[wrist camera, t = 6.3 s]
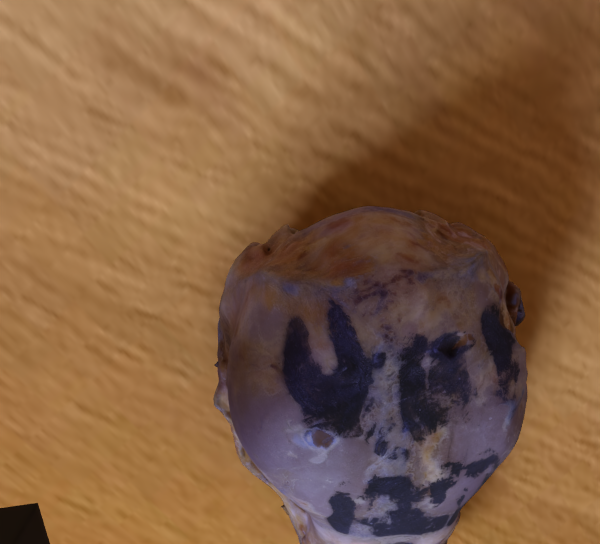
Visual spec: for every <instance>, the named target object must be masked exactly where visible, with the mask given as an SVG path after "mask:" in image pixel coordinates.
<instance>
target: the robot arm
mask: <svg viewBox="0 0 600 544" xmlns="http://www.w3.org/2000/svg"><path fill="white" fill-rule="evenodd" d="M0 544H50V543H49V539H48V536H47V533H46V529H45V526H44V522H43V519H42V516H41V512H40V509H39V506H38V503H34V504H27V505H20V506H13V507H6V508H0Z"/></svg>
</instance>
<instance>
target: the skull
mask: <svg viewBox="0 0 600 544" xmlns="http://www.w3.org/2000/svg"><path fill="white" fill-rule="evenodd" d="M508 280H509V276H508V271H507V268H506V266H505V264H504V262H503V260H502V258H501V257H500V255H499V254H498V252H497V250H496V249H495V246H494V245H493V244H492V243H491V242H490V241H489V240H488V239H486V238H485V237H484V236H483V235H481V234H478V233H477V232H476V231H474V230H472V229H471V228H470V227H468V226H466V225H464V224H462V223H459V222H457V223H452V224H449V223H448V222H447V221H446V220H444V219H443V218H441V217H439V216H438V215H436V214H433V213H431V212H428V211H424V210H418V211H416V212H415V213H412V212H410V211H405V210H399V209H395V208H387V207H376V206H364V207H359V208H355V209H352V210H348V211H345V212H342V213H338V214H335V215H332V216H330V217H327V218H325V219H323V220H321V221H319V222H317V223H315V224H314V225H312V226H310V227H308V228H306V229H303V230H301V231H299V230H296V229H294V228H290V227H289V225H288V224H287V225H284V226H283V227H281V228H280V229H279V230H278V231H277V232H276V233H275V234H273V235H272V236H271V238H270V239H269V240H268V242H267V243H265V244H259V243H256V242H253V243H251V244H250V245H249V246H248V247H247V248H246V249H245V250H244V251H243V252H242V253H241V254H240V255H239V256H238V257H237V258H236V259H235V261H234V263H233V264H232V266H231V268H230V270H229V273H228V275H227V279H226V283H225V288H224V292H223V294H222V297H221V301H220V307H219V316H220V318H219V322H218V353H217V356H218V362H217V363H216V364H215V366H216V367H218V376H219V383H218V386H217V389H216V392H215V395H214V405H215V407H216V408H217V409H219V410H220V411H221V412H222V413H223V415H224V416H225V418H226V419H227V421H228V422H229V423H230V426H231V431H232V433H233V437H234V441H235V447H236V451H237V454H238V456H239V458H240V460H241V462H242V464H243V465H244V466H245V467H246V468H247V469H248V470H249V471H250V472H251V473H253V474H254V475H255V476H256V477H258V478H259V479H260V480H262V481H263V482H265V483H266V484H267V485H269V486H270V487H271V488H272V489H273V490H274V491H275V492H276V493H277V494H278V495H279V496H280V497H281V499H282V500H283V502H284V505H283V506H281V507H282V508H283V509H284V510H285V511H286V513H287V514H288V515H289V517H290V519H291V522H292V524H293V526H294V528H295V530H296V532H297V535H298V537H299V542H300V544H447V540H448V538H449V537H450V535H451V533H452V532H453V531H454V529H455V526H456V525H457V523H458V521H459V518H460V510H461V508H462V507H463V506H464V505H465V504H466V502H467V501H468V500H469V499H470V498H471V497H472V496H473V495H474V494H475V493H476V492H477V491H478V490H479V489H480V488H481V486H482V485H483V484H484V483H485V482H486V480H487V479H488V478H489V477H490V476H491V475H492V474H493V472H494V471H495V470H496V469H497V467H498V466H499V465H500V464H501V463H502V462H503V461H504V460H505V458H506V457H507V456H508V455H509V453H510V452H511V450H512V449H513V447H514V446H515V444H516V442H517V440H518V437H519V434H520V431H521V427H522V423H523V419H524V414H525V407H526V401H527V384H526V380H527V374H528V373H527V368H526V351H525V348H524V347H522V346H521V345H520V344H519V343H518V342H517V340H516V336H515V327H516V326H517V325H519V324H520V323H521V322H522V321H523V320H524V318H525V312H524V307H523V303H522V298H521V291H520V289H519V288H518V287H517V286H516V285H515V284H514V283H513V282H510V281H508Z"/></svg>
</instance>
